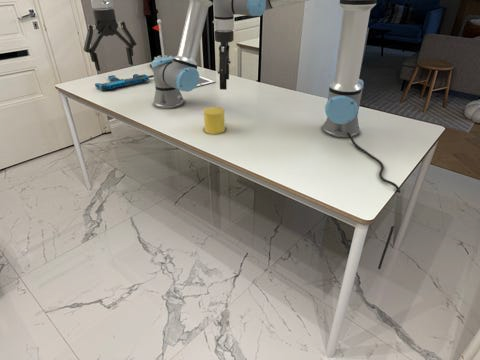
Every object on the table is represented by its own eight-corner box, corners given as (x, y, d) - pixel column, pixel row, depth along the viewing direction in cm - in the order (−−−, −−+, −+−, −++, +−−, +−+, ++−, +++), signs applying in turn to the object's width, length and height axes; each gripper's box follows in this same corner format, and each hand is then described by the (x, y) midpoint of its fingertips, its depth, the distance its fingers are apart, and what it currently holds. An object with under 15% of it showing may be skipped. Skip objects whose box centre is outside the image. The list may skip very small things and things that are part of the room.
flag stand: (171, 62, 250) (166, 17, 233) (175, 66, 239) (170, 20, 223) (153, 63, 246) (147, 18, 229) (157, 68, 235) (150, 21, 219)
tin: (228, 131, 149) (227, 112, 145) (209, 135, 146) (208, 116, 141) (219, 124, 156) (219, 105, 151) (201, 127, 153) (200, 108, 148)
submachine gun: (139, 68, 225) (158, 74, 208) (140, 74, 226) (158, 80, 210) (87, 78, 206) (103, 86, 189) (89, 84, 208) (104, 92, 191)
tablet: (160, 77, 218) (160, 76, 218) (186, 71, 229) (186, 70, 229) (187, 89, 198) (187, 88, 198) (215, 82, 209) (215, 81, 209)
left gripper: (71, 12, 116) (86, 74, 128) (139, 7, 129) (147, 63, 141) (64, 10, 121) (80, 70, 133) (131, 5, 134) (139, 60, 146)
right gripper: (217, 24, 143) (218, 75, 155) (210, 36, 122) (212, 93, 134) (235, 25, 143) (235, 75, 154) (231, 36, 122) (231, 94, 134)
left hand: (115, 67), depth 137 cm, fingers open, 13 cm apart
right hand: (224, 84), depth 144 cm, fingers open, 13 cm apart
